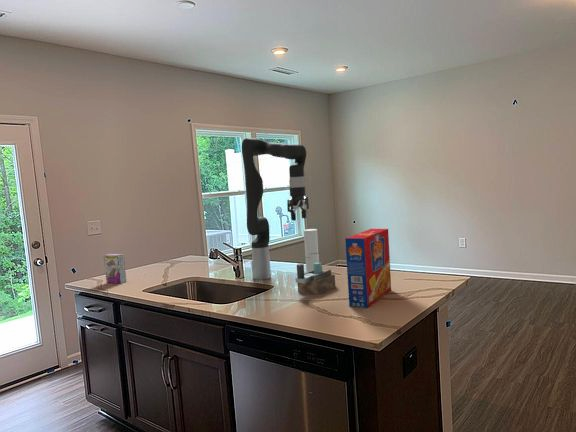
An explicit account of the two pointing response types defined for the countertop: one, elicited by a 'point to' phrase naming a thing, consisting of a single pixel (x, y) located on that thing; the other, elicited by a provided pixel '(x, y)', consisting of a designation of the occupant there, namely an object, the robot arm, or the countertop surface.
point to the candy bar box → (115, 268)
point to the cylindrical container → (311, 248)
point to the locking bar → (301, 277)
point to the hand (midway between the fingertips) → (298, 219)
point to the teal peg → (317, 268)
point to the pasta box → (368, 267)
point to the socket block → (318, 283)
